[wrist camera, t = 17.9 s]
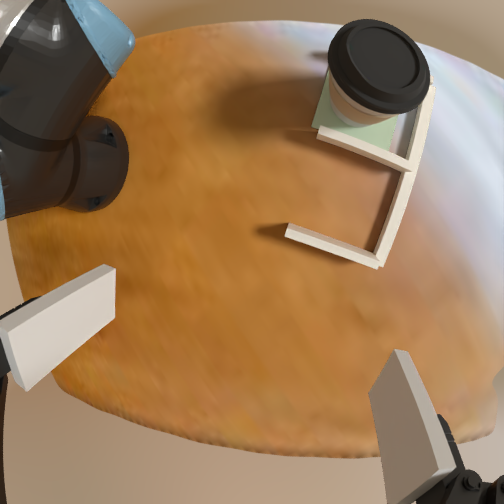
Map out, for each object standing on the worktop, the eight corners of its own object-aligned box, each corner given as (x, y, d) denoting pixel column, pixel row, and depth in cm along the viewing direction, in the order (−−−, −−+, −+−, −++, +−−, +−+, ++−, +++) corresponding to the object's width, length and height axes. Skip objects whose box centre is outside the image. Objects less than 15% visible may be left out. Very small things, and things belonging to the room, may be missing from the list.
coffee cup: (372, 63, 27) (406, 5, 13) (401, 125, 29) (457, 97, 15) (308, 80, 30) (309, 20, 15) (337, 144, 31) (362, 120, 17)
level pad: (311, 126, 31) (311, 126, 31) (332, 57, 28) (332, 56, 28) (386, 155, 31) (387, 155, 30) (404, 85, 28) (404, 84, 27)
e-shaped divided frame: (286, 230, 35) (284, 236, 31) (341, 52, 28) (345, 39, 24) (380, 263, 34) (388, 273, 30) (431, 90, 27) (444, 82, 23)
